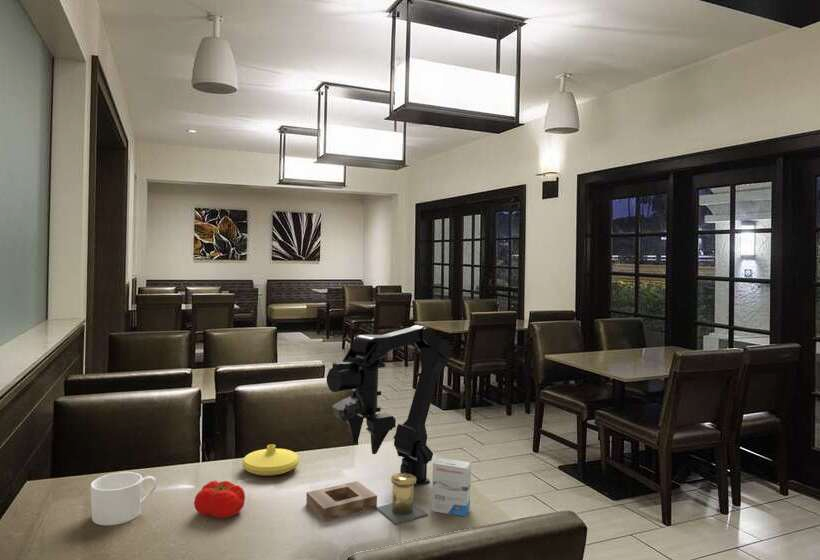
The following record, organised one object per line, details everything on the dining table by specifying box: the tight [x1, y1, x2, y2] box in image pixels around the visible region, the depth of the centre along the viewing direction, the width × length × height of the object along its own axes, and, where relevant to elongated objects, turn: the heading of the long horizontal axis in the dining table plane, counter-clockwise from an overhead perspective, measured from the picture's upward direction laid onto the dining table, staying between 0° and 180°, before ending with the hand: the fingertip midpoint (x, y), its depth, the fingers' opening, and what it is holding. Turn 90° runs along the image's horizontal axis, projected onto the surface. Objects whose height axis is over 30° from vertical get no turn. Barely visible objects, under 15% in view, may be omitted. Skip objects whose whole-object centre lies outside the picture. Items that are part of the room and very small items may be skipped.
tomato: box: [193, 480, 246, 519], centre depth 131 cm, size 10×11×6 cm
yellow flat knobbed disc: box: [241, 444, 300, 477], centre depth 157 cm, size 16×16×7 cm
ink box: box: [431, 457, 472, 518], centre depth 136 cm, size 8×5×12 cm, turn 71°
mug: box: [90, 471, 157, 526], centre depth 128 cm, size 13×10×8 cm
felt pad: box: [375, 502, 429, 525], centre depth 134 cm, size 9×9×1 cm
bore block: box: [306, 480, 378, 522], centre depth 136 cm, size 14×10×3 cm
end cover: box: [390, 472, 416, 515], centre depth 134 cm, size 6×6×8 cm
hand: (364, 448), depth 139 cm, fingers open, 9 cm apart
